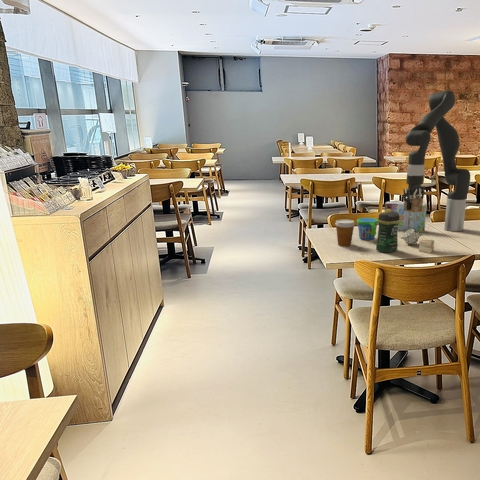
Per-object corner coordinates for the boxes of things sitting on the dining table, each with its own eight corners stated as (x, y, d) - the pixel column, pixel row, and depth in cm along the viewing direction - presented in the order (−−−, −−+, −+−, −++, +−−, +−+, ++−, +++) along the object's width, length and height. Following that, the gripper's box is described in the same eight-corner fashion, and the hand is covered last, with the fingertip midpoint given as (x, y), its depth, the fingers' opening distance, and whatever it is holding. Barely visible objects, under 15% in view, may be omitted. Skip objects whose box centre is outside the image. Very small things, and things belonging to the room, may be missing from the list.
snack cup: (352, 235, 233) (353, 216, 231) (371, 234, 234) (372, 216, 231) (361, 243, 218) (362, 223, 216) (382, 242, 219) (383, 222, 216)
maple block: (422, 248, 205) (423, 238, 204) (433, 250, 202) (434, 240, 201) (418, 251, 202) (419, 241, 201) (430, 253, 199) (430, 242, 197)
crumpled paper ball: (413, 252, 213) (423, 239, 205) (397, 246, 213) (406, 233, 206) (415, 239, 218) (425, 226, 211) (399, 233, 219) (408, 220, 211)
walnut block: (411, 209, 213) (412, 196, 211) (422, 210, 208) (423, 198, 206) (403, 210, 209) (404, 198, 208) (414, 212, 205) (415, 199, 203)
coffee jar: (387, 254, 199) (389, 214, 194) (373, 250, 205) (375, 212, 200) (400, 250, 204) (403, 211, 199) (386, 246, 210) (388, 209, 205)
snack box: (424, 230, 238) (427, 203, 234) (422, 232, 234) (425, 205, 230) (385, 226, 249) (386, 201, 245) (382, 228, 245) (384, 202, 241)
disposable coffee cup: (330, 243, 219) (331, 220, 216) (346, 241, 223) (347, 218, 220) (342, 248, 211) (342, 224, 207) (358, 245, 214) (359, 221, 211)
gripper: (417, 172, 211) (414, 206, 215) (399, 174, 203) (397, 210, 208) (431, 173, 205) (428, 208, 209) (413, 176, 197) (410, 212, 202)
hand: (413, 208), depth 208 cm, fingers closed on walnut block, 6 cm apart
